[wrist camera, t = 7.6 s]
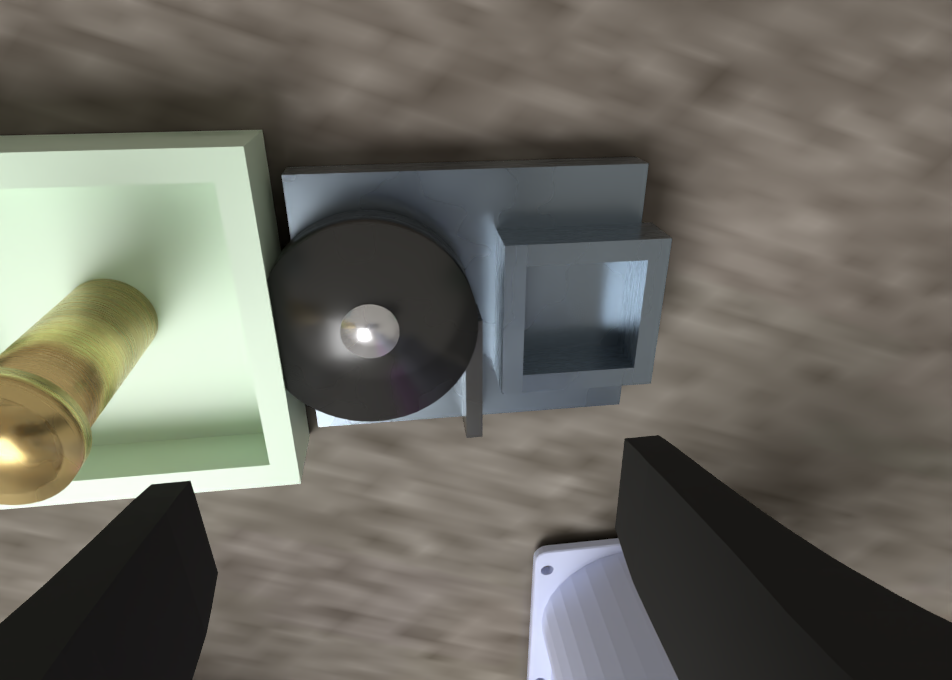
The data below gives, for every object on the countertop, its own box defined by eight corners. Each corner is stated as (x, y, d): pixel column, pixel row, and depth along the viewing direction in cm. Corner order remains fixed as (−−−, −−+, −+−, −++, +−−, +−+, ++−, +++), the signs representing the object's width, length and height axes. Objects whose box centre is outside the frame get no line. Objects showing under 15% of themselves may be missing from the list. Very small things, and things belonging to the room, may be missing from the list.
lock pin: (179, 360, 18) (98, 498, 13) (72, 367, 18) (-56, 511, 13) (155, 265, 17) (52, 376, 12) (38, 271, 17) (-121, 388, 11)
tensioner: (618, 388, 22) (644, 428, 20) (285, 412, 21) (273, 459, 18) (645, 156, 18) (681, 175, 16) (243, 168, 17) (222, 190, 15)
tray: (309, 435, 21) (300, 483, 19) (-7, 459, 20) (-56, 514, 18) (262, 129, 17) (243, 146, 14) (-151, 139, 15) (-240, 159, 13)
